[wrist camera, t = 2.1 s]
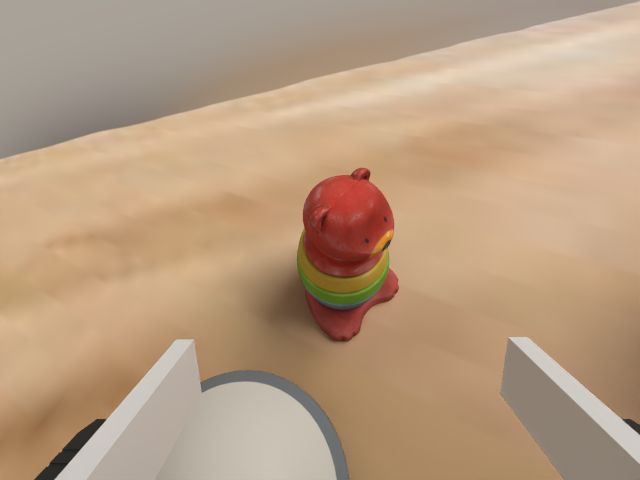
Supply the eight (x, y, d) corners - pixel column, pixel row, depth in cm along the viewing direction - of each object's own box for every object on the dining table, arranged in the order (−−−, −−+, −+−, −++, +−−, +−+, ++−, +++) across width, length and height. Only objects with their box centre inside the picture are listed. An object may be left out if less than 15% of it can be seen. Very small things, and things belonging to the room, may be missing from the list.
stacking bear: (342, 350, 33) (346, 291, 18) (283, 288, 37) (245, 196, 22) (405, 285, 36) (454, 189, 21) (345, 235, 40) (349, 123, 25)
